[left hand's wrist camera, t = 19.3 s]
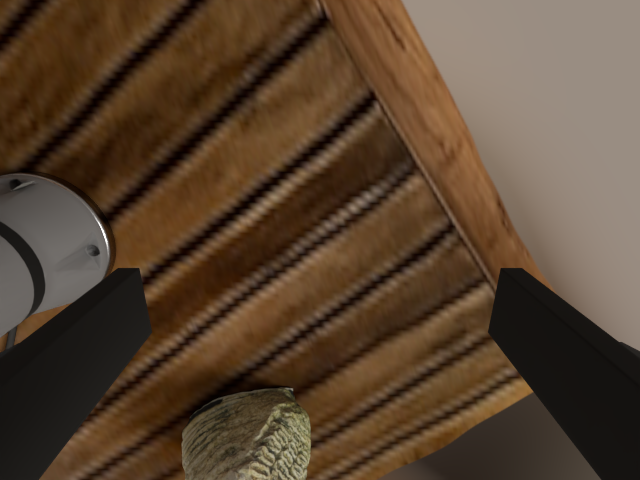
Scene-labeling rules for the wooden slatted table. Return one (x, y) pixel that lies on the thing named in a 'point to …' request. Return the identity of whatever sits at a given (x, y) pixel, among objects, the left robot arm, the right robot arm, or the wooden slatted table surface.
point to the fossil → (248, 438)
